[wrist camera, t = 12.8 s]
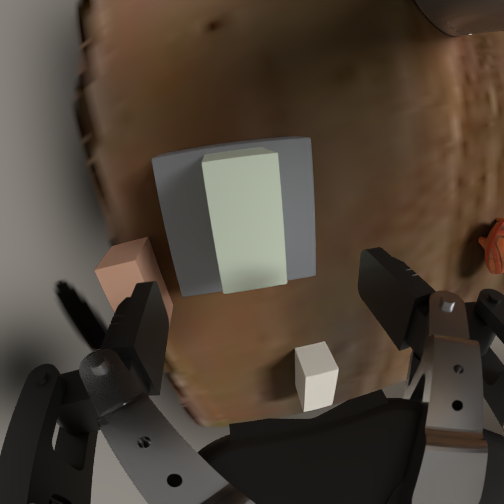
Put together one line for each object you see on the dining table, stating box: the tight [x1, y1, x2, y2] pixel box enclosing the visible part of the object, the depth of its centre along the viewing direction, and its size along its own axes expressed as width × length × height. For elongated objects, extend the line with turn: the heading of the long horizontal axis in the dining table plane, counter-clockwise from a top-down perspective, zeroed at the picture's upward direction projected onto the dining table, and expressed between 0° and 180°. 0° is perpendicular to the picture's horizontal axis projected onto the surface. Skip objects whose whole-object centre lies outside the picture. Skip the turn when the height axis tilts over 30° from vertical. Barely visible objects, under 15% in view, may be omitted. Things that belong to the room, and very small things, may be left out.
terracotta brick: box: [94, 237, 173, 335], centre depth 21 cm, size 7×4×4 cm, turn 10°
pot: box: [478, 218, 504, 274], centre depth 25 cm, size 8×8×7 cm
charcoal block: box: [152, 136, 316, 297], centre depth 20 cm, size 10×10×4 cm
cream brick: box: [295, 342, 339, 412], centre depth 29 cm, size 7×4×4 cm, turn 6°
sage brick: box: [202, 147, 287, 294], centre depth 16 cm, size 7×4×4 cm, turn 6°
